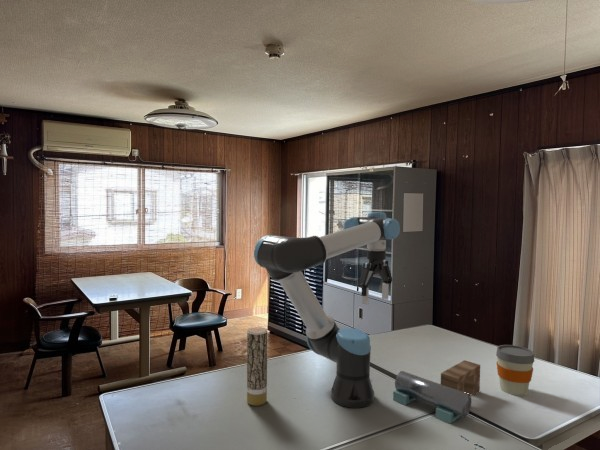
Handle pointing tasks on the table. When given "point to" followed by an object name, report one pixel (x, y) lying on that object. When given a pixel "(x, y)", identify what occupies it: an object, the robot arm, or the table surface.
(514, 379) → the reusable coffee cup
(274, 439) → the table surface
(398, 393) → the v-blocks
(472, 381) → the brown wooden arched block
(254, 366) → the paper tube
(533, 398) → the table surface
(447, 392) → the steel axle
